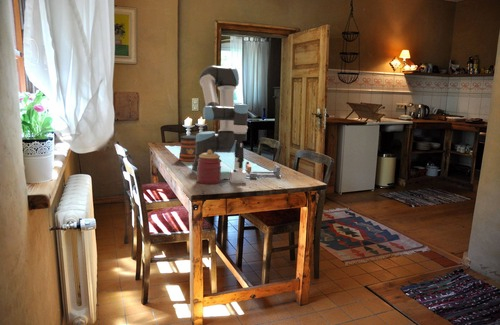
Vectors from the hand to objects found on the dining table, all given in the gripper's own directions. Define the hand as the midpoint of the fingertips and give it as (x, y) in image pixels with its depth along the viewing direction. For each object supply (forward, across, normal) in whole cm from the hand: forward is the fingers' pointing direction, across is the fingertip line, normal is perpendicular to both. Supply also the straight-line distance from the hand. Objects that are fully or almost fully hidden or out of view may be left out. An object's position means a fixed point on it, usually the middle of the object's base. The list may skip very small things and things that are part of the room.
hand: (238, 171), depth 211 cm
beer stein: (+5, +63, +24) cm, 67 cm away
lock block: (+6, 0, 0) cm, 6 cm away
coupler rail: (+5, +16, -16) cm, 23 cm away
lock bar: (+4, +28, -10) cm, 30 cm away
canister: (+6, 0, +16) cm, 17 cm away
